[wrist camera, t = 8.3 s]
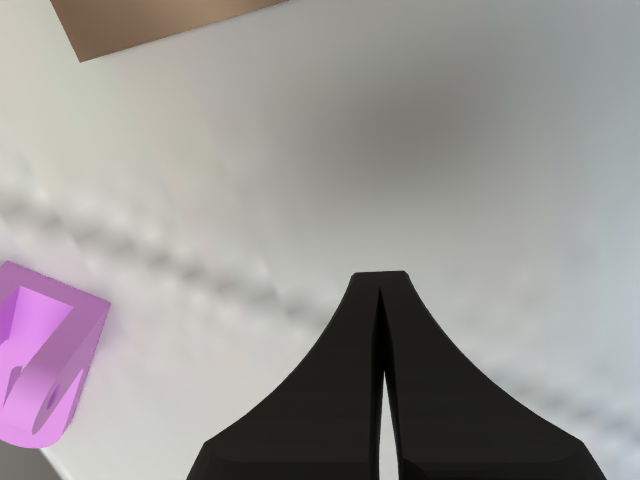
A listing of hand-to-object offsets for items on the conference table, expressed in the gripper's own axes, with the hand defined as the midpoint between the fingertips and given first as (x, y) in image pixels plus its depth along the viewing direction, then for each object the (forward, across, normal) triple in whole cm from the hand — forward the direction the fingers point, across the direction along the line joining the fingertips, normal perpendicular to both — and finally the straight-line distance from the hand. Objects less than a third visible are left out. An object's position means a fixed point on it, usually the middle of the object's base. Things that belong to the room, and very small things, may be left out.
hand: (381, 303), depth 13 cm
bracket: (+11, +20, +11) cm, 25 cm away
